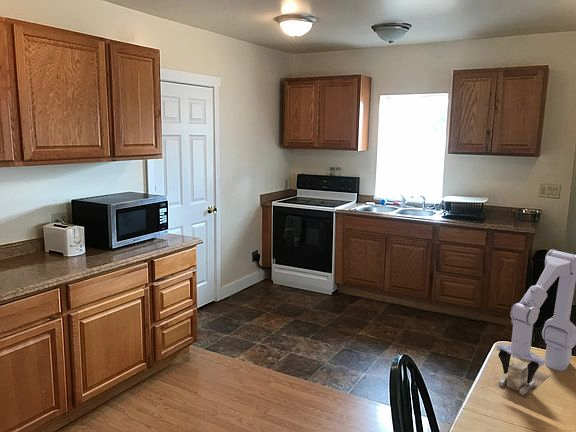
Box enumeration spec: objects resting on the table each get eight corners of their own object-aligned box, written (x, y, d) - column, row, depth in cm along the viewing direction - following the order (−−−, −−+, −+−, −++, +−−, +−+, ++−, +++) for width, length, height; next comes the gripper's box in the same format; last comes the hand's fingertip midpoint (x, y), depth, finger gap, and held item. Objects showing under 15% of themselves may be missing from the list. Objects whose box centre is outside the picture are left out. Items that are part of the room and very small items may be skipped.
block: (506, 386, 158) (508, 366, 157) (514, 379, 162) (516, 360, 161) (518, 391, 155) (520, 371, 154) (526, 384, 159) (528, 365, 158)
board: (520, 367, 172) (520, 361, 171) (549, 379, 165) (550, 371, 164) (494, 388, 159) (494, 380, 158) (524, 401, 152) (525, 393, 151)
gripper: (494, 335, 158) (490, 372, 161) (539, 351, 147) (535, 390, 150) (503, 329, 163) (500, 365, 165) (548, 344, 152) (544, 382, 155)
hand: (517, 377), depth 158 cm, fingers open, 7 cm apart
